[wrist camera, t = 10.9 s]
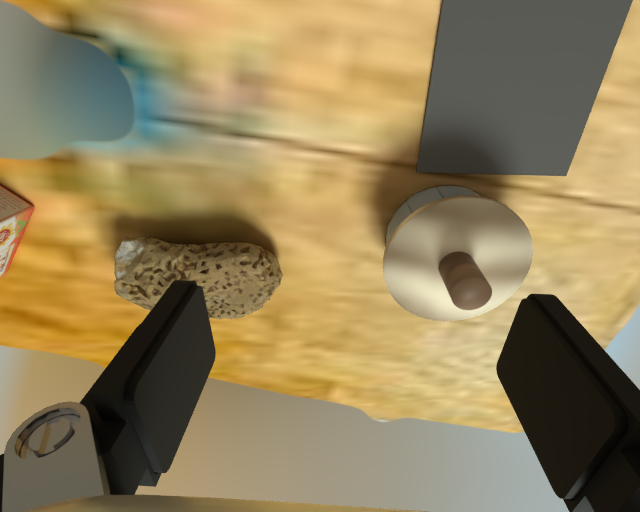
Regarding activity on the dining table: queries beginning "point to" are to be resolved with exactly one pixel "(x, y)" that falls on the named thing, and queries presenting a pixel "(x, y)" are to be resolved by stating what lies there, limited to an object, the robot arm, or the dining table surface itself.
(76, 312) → the dining table surface
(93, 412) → the robot arm
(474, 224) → the lid
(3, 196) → the cracker box
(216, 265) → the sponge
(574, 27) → the mat
